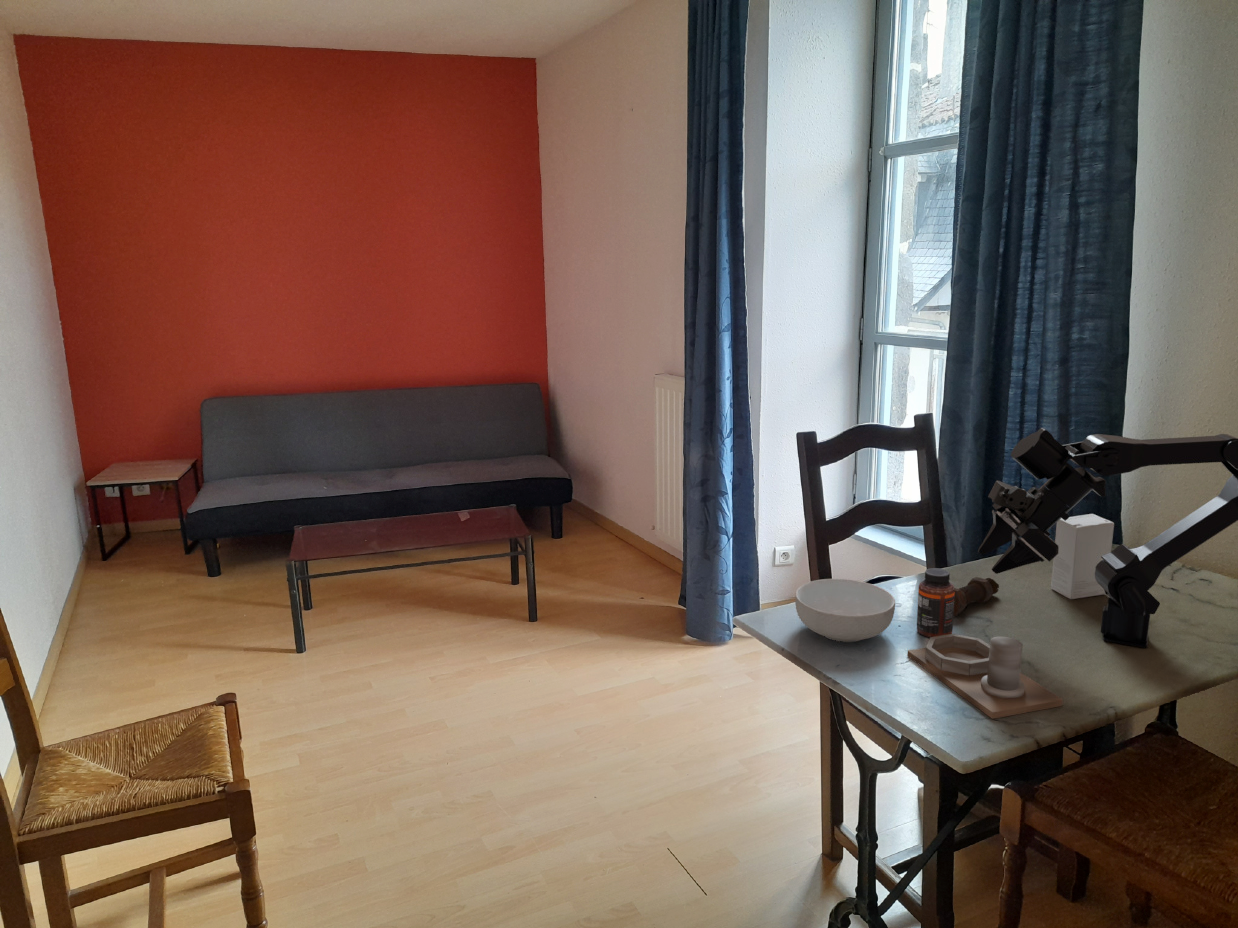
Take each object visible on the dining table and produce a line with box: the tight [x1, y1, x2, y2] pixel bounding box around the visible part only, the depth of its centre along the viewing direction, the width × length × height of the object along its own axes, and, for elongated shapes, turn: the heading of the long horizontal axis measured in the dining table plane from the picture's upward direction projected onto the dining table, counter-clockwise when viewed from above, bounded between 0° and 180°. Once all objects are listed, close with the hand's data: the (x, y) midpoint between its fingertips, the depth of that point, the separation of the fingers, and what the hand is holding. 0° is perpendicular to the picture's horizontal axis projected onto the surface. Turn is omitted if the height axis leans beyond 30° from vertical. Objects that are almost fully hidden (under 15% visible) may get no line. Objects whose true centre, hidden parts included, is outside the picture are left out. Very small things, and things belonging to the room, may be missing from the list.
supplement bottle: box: [916, 567, 956, 639], centre depth 152 cm, size 6×6×11 cm
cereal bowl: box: [794, 578, 896, 643], centre depth 153 cm, size 17×17×7 cm
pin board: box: [906, 633, 1064, 720], centre depth 135 cm, size 21×12×8 cm, turn 15°
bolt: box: [953, 576, 1000, 617], centre depth 165 cm, size 6×5×15 cm
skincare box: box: [1050, 513, 1115, 600], centre depth 167 cm, size 8×6×15 cm
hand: (986, 562), depth 150 cm, fingers open, 9 cm apart
